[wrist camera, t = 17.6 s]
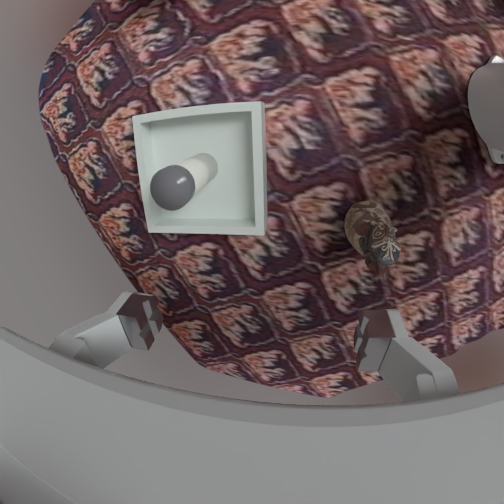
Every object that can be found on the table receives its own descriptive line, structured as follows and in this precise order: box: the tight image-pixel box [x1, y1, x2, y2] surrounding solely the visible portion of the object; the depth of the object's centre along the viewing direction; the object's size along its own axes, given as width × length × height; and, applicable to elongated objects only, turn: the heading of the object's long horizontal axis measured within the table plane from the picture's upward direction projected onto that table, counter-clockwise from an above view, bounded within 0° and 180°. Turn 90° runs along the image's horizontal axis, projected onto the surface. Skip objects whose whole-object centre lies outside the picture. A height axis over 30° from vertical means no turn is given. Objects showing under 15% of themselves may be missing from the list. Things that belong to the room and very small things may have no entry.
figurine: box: [344, 200, 401, 279], centre depth 34 cm, size 7×7×12 cm
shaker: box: [150, 153, 218, 211], centre depth 34 cm, size 5×5×12 cm
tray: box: [132, 102, 268, 236], centre depth 38 cm, size 18×18×4 cm
